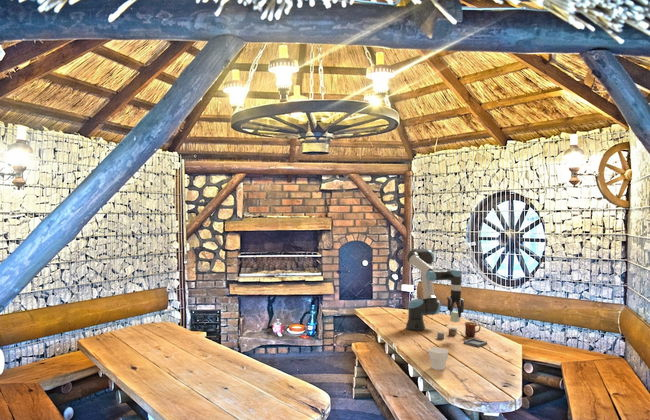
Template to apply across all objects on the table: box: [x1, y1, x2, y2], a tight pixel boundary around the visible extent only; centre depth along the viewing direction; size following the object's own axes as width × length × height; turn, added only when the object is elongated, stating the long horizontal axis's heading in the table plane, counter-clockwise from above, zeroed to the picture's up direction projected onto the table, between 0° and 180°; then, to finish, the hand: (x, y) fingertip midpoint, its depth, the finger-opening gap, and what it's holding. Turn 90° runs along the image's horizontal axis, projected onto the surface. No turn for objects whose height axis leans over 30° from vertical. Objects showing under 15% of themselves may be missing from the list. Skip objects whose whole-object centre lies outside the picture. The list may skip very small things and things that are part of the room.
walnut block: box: [448, 327, 458, 337], centre depth 401 cm, size 5×5×5 cm
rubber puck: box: [436, 331, 445, 340], centre depth 390 cm, size 5×5×4 cm
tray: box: [463, 337, 488, 348], centre depth 377 cm, size 12×12×2 cm
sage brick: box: [450, 310, 458, 323], centre depth 389 cm, size 5×5×7 cm
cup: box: [428, 346, 449, 371], centre depth 322 cm, size 12×12×11 cm
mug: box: [464, 321, 481, 338], centre depth 397 cm, size 12×9×10 cm
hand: (455, 320), depth 389 cm, fingers closed on sage brick, 5 cm apart
